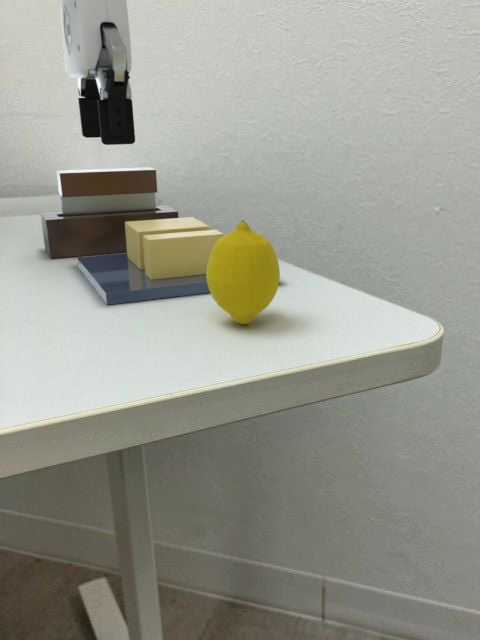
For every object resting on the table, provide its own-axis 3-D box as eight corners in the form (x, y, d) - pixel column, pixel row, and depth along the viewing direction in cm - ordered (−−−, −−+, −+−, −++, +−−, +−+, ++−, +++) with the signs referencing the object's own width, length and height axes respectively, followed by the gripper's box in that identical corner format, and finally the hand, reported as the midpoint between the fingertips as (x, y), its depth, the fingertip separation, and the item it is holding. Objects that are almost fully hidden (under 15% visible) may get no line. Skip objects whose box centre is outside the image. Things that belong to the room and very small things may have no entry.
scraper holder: (50, 258, 69) (45, 219, 67) (45, 250, 72) (40, 213, 70) (179, 247, 74) (178, 211, 73) (169, 240, 78) (167, 205, 76)
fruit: (279, 312, 54) (281, 213, 51) (278, 335, 49) (280, 228, 46) (211, 310, 54) (209, 212, 51) (204, 334, 49) (200, 226, 46)
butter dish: (106, 304, 55) (105, 293, 55) (78, 267, 66) (77, 257, 65) (279, 284, 62) (279, 274, 61) (227, 253, 72) (227, 244, 72)
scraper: (69, 255, 70) (59, 173, 67) (65, 250, 72) (56, 170, 69) (160, 247, 74) (156, 169, 71) (154, 242, 76) (150, 167, 73)
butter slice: (151, 280, 59) (148, 239, 57) (145, 274, 60) (142, 235, 59) (224, 272, 61) (224, 233, 60) (217, 267, 63) (216, 229, 62)
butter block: (140, 270, 61) (137, 231, 60) (127, 258, 66) (124, 221, 64) (211, 263, 64) (210, 226, 63) (194, 251, 68) (193, 216, 67)
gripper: (34, -43, 67) (57, 135, 74) (62, -77, 53) (87, 148, 60) (108, -38, 70) (123, 134, 77) (153, -68, 56) (167, 146, 63)
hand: (107, 140), depth 68 cm, fingers open, 9 cm apart
